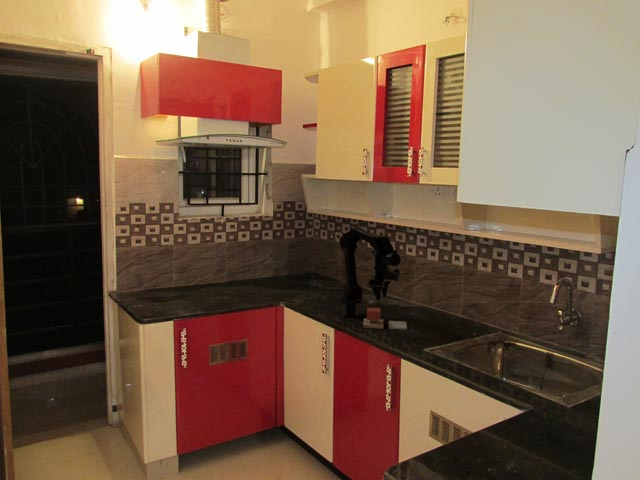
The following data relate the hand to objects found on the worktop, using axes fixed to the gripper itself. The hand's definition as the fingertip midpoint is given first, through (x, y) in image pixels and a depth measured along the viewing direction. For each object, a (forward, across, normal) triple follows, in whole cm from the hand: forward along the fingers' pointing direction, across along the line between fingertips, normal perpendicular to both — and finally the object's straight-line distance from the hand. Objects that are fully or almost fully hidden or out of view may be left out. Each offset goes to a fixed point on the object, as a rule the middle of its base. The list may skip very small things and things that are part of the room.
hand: (381, 298), depth 242 cm
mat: (+14, +6, -5) cm, 16 cm away
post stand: (+13, +3, +5) cm, 14 cm away
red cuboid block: (+10, +3, +5) cm, 12 cm away
